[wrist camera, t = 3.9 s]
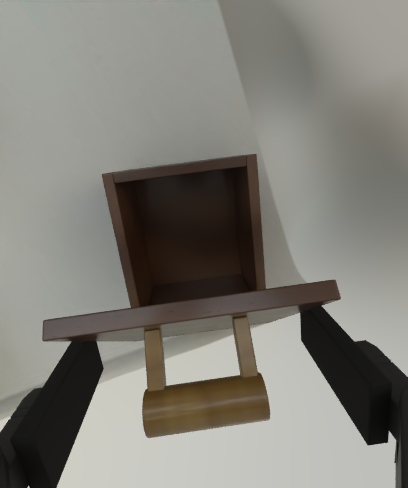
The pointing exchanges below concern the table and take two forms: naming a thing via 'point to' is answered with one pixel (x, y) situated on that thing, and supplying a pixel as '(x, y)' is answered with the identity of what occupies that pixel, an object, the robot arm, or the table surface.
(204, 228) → the chest
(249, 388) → the lid
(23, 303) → the table surface
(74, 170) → the table surface
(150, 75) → the table surface
